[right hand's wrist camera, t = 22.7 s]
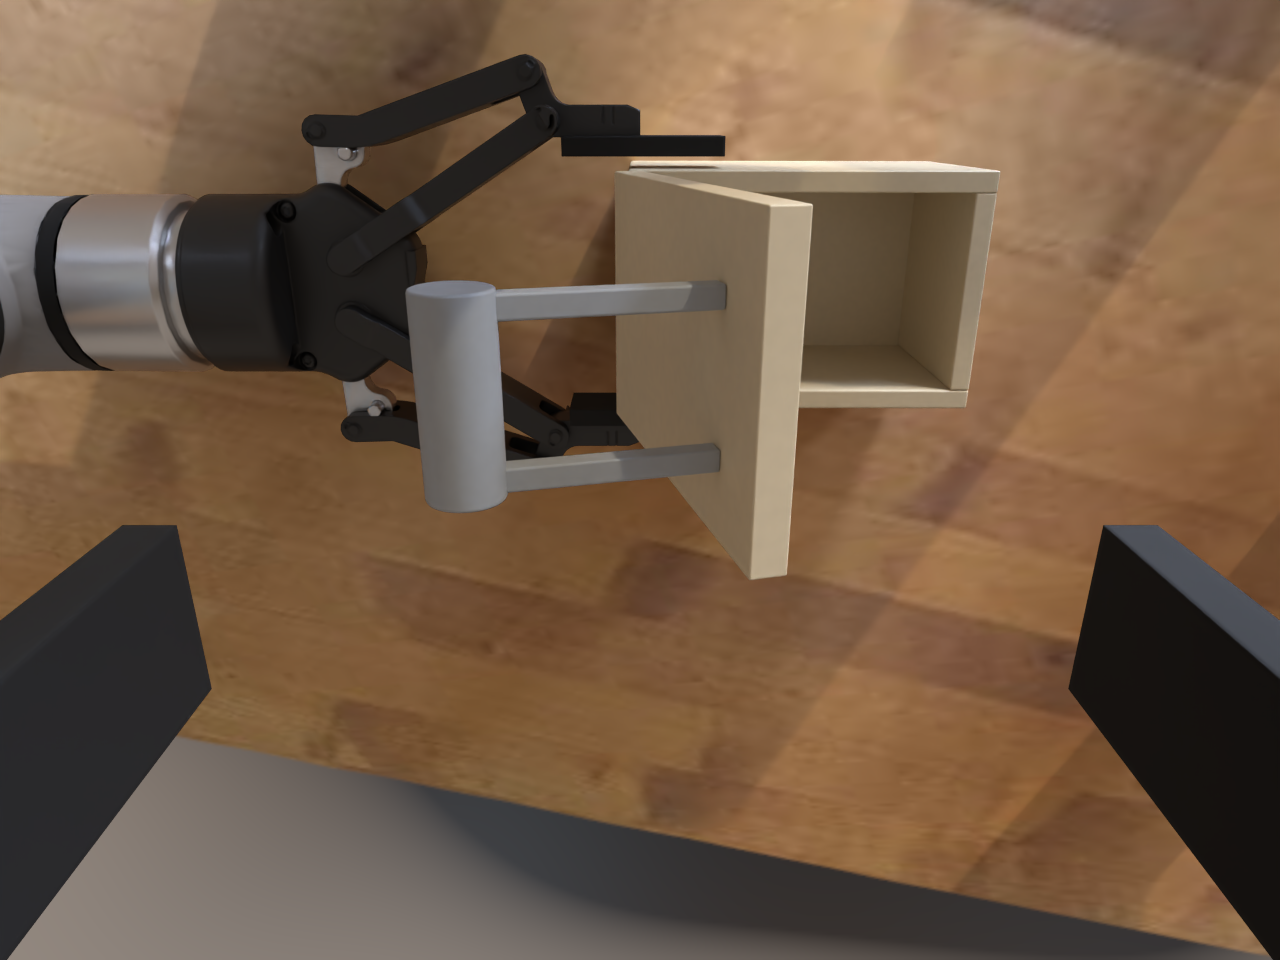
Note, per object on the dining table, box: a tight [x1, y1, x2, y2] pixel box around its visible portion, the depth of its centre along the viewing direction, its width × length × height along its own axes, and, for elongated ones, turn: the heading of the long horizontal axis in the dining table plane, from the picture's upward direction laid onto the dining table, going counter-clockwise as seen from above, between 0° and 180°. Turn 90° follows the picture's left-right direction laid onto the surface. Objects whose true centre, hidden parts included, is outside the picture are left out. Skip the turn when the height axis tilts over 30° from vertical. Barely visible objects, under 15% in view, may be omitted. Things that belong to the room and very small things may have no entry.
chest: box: [629, 161, 1000, 408], centre depth 41 cm, size 14×10×9 cm, turn 90°
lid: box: [405, 171, 813, 580], centre depth 28 cm, size 15×10×9 cm
